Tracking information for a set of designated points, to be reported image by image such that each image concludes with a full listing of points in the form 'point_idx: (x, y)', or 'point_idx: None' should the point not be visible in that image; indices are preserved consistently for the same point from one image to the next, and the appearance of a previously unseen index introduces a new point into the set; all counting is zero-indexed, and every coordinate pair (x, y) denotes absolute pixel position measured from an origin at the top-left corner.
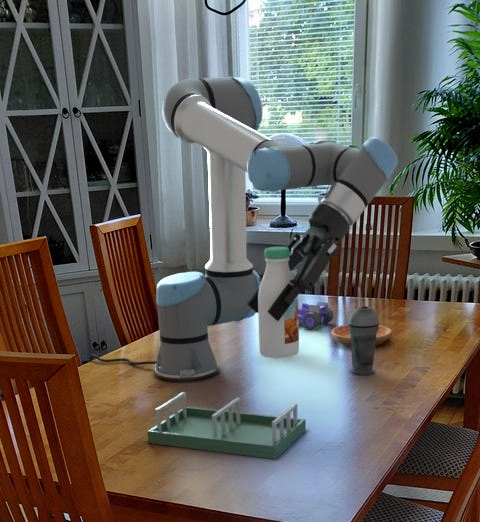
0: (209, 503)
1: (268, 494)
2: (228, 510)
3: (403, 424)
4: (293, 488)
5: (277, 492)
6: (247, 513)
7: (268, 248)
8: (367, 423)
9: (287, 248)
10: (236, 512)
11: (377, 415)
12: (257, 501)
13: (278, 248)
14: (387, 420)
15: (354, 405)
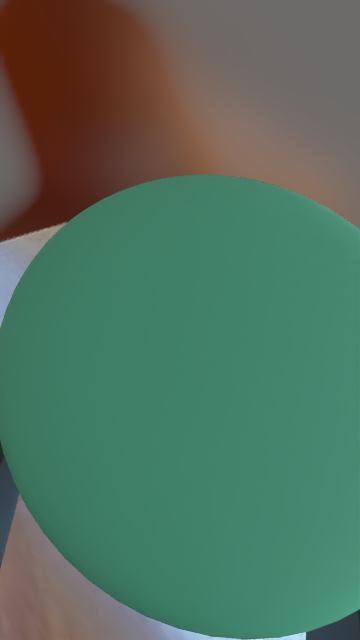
0: (53, 234)
1: (19, 278)
2: (28, 236)
3: (5, 628)
4: (6, 302)
5: (14, 286)
6: (8, 243)
7: (311, 224)
8: (68, 563)
9: (37, 466)
10: (19, 238)
11: (80, 626)
12: (18, 262)
13: (175, 303)
14: (46, 618)
15: (158, 636)
